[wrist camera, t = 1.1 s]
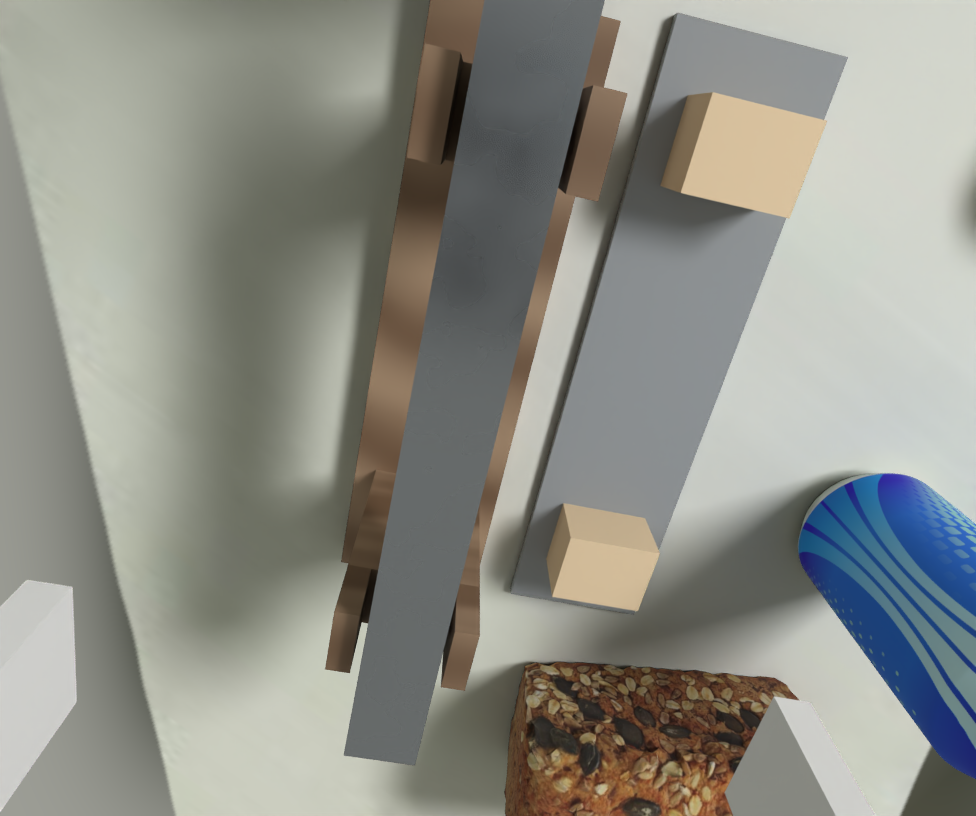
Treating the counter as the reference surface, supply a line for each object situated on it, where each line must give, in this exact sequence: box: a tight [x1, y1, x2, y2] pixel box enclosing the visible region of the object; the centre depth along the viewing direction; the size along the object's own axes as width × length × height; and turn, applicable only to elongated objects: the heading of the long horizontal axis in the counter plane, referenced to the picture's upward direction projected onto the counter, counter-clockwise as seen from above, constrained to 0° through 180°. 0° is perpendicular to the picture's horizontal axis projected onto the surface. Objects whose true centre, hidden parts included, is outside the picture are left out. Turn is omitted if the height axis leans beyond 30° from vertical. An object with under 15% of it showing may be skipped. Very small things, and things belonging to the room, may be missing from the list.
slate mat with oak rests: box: [511, 13, 848, 614], centre depth 34 cm, size 32×8×4 cm, turn 168°
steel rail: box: [344, 0, 605, 765], centre depth 24 cm, size 30×3×4 cm, turn 168°
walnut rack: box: [325, 0, 628, 691], centre depth 29 cm, size 30×8×13 cm, turn 168°
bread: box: [504, 662, 799, 816], centre depth 42 cm, size 19×11×10 cm, turn 82°
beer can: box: [798, 473, 976, 779], centre depth 33 cm, size 8×8×16 cm
